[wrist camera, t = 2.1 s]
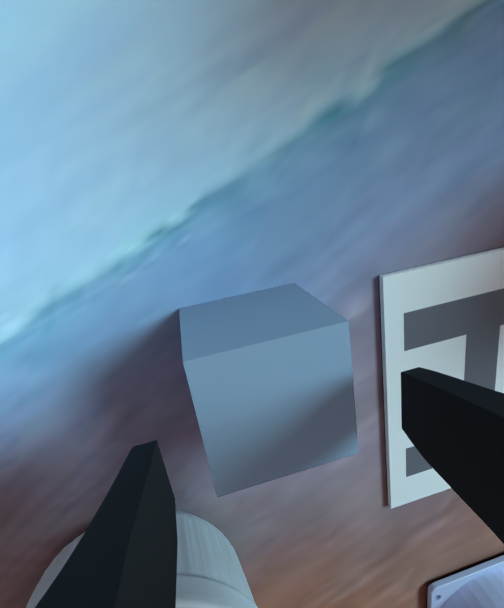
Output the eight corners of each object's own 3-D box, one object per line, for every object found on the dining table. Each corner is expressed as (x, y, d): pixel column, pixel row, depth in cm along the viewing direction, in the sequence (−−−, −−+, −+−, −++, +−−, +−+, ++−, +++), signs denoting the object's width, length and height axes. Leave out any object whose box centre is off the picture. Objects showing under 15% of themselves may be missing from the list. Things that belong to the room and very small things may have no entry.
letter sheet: (543, 450, 22) (549, 454, 22) (388, 504, 20) (391, 508, 20) (576, 230, 17) (583, 231, 17) (379, 275, 16) (383, 276, 15)
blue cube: (305, 381, 17) (358, 452, 12) (203, 409, 16) (217, 497, 11) (293, 282, 15) (348, 321, 10) (178, 308, 14) (182, 362, 10)
